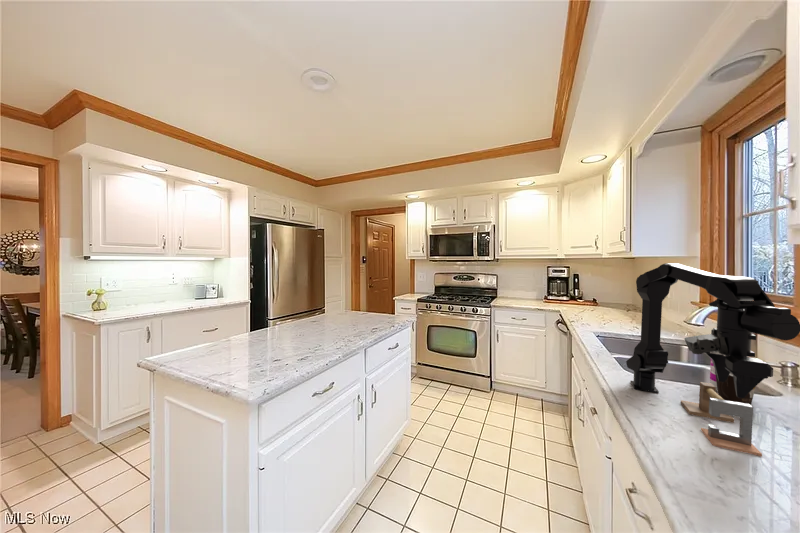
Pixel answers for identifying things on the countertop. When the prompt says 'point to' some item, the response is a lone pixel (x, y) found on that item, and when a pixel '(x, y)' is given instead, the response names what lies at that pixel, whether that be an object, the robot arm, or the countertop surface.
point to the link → (734, 410)
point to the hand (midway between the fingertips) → (730, 389)
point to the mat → (732, 444)
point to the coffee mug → (732, 391)
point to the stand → (705, 403)
